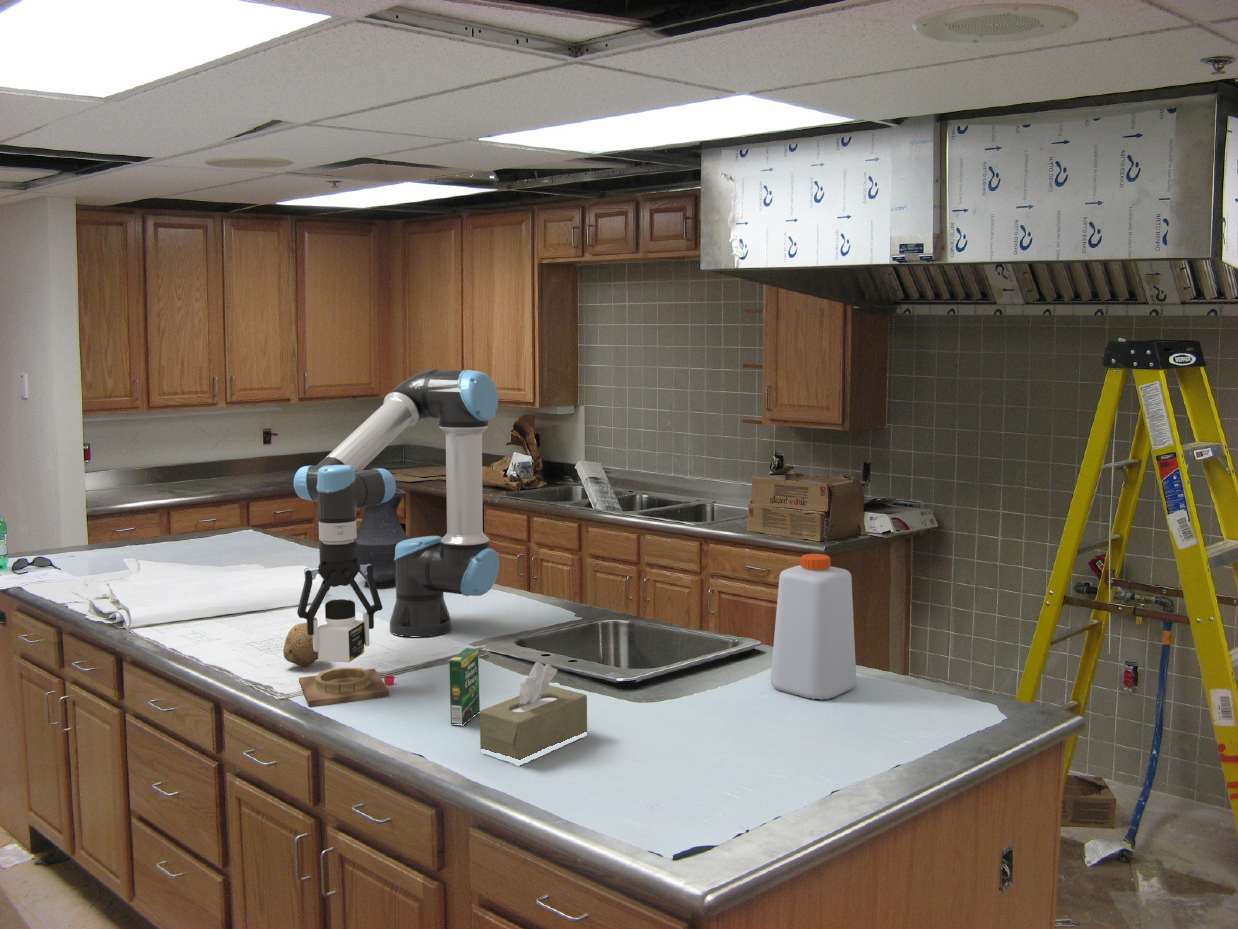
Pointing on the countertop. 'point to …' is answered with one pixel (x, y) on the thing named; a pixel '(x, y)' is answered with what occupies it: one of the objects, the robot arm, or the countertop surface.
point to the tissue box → (533, 717)
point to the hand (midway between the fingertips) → (341, 647)
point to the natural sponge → (299, 646)
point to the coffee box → (464, 686)
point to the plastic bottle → (814, 630)
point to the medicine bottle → (340, 632)
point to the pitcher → (380, 540)
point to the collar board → (342, 686)
